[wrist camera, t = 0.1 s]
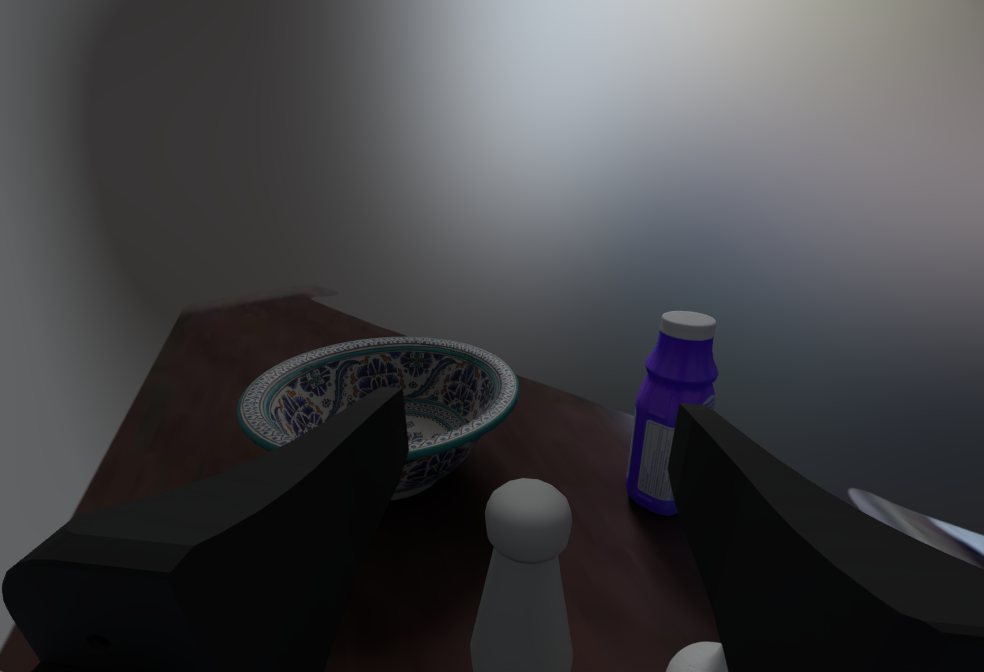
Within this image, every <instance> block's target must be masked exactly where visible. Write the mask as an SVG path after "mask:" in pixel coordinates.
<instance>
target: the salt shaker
mask: <svg viewBox="0 0 984 672" xmlns="http://www.w3.org/2000/svg"><path fill="white" fill-rule="evenodd" d="M485 520H486V528H487V535H488V539H489V541H490V543H491V544H492V545H493V546H494V549H493V553H492V557H491V561H490V565H489V569H488V573H487V577H486V582H485V586H484V590H483V594H482V598H481V602H480V606H479V610H478V614H477V618H476V623H475V627H474V631H473V635H472V639H471V643H470V646H471V659H472V668H473V672H571V668H572V662H573V651H572V645H571V638H570V632H569V626H568V619H567V613H566V607H565V601H564V594H563V588H562V582H561V575H560V569H559V561H558V554H560V553H561V552H562V551H563V550H564V549H565V547H566V546H567V543H568V539H569V535H570V530H571V524H572V517H571V510H570V507H569V504H568V502H567V499H566V497H565V496H564V495H562V494H561V493H560V492H559V491H558V490H557V489H555V488H554V487H553V486H552V485H550V484H548V483H545V482H543V481H540V480H538V479H525V478H522V479H517V480H512V481H509V482H507V483H506V484H504V485H502V486H501V487H499V488H498V489H496V490H495V491H494V492H493V493H492V495H491V497H490V499H489V500H488V502H487V506H486V511H485Z"/></svg>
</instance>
